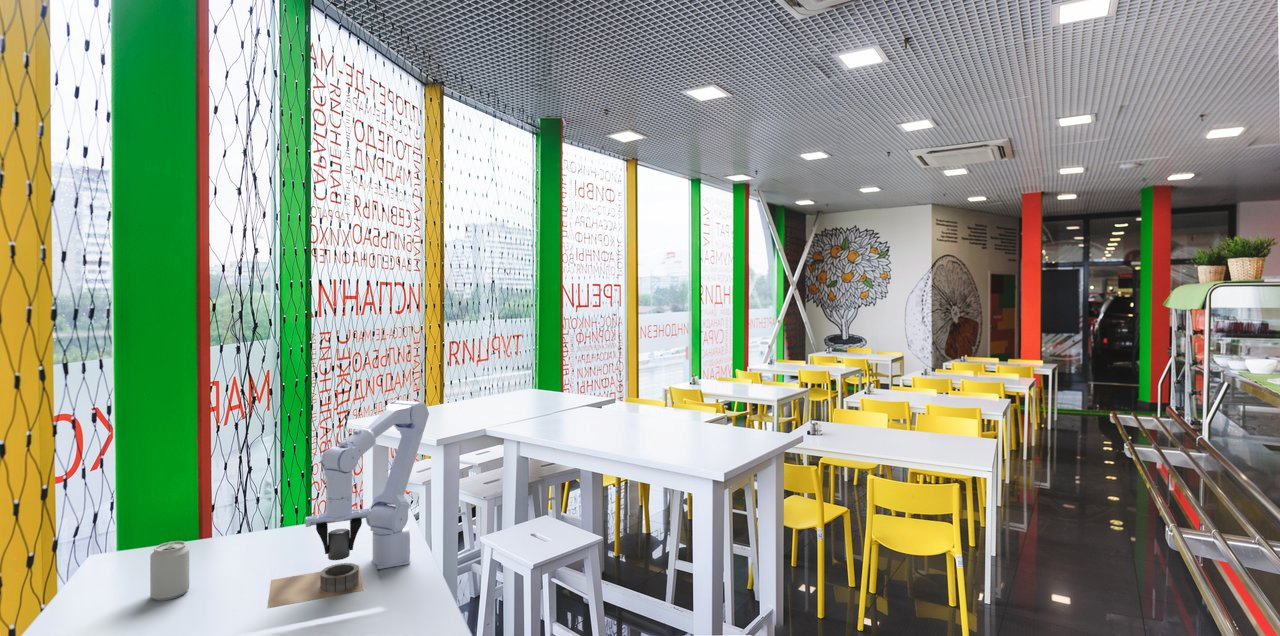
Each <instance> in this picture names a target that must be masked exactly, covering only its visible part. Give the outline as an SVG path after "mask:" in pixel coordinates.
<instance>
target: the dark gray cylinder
mask: <svg viewBox="0 0 1280 636" xmlns="http://www.w3.org/2000/svg"><path fill="white" fill-rule="evenodd" d="M350 554H351V550H350V528H349V529H348V528H337V529H333V530H330V531H328V554H327V559H328V560H330V561H341V560H344V559H347V558H349V557H350Z"/></svg>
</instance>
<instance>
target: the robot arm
mask: <svg viewBox="0 0 1280 636" xmlns="http://www.w3.org/2000/svg"><path fill="white" fill-rule="evenodd" d="M429 416H430V411H429V409H428V407H427V404H426V403H425V402H423V401H411V400H409V401H408V400H401V399H393V400H392V401H391V402H390V403H388V404H387V405H385V409H384V411H383V412H381V414H380V415H379V416H378V417H376V419H375V420H373V422H372V423H370V424H369V425H368V426H367V427H366V428H363V427H362V428H356V429H355V430H353V431H352V432H353V433H352V434H350V436H348V437H347V438H346V439H345V440H342V441H341V442H340V443H339V444H338V445H337V446H332V447H329V448H328V449H326V450H325V451H324V453H323V454H322V457H321V460H320V466H321V468H322V469H323V471H324V473H323V474H324V476H325V478H326V479H325V480H326V483H325V484H326V485H325V487H326V488H325V489H326V491H325V494H326V495H325V497H326V498H325V508H326V509H325V512H323V513H319V514H315V515H309V516H305V528H309V527H311V526H315V530H316V532H317V534H318V535H319V537H320V540H321V542H322V545H323V549H324V555H328V533H329V531H328V524H332V523H333V524H335V523H340V522H346V521H349V530H350V551H353V550H354V545H355V540H356V538H357V535H358V533H359V530H360V529H361V527H362V524H363V519H365V523H366V524H367V526H368V527H370V531H371V532H372V563H373V564H375V568H376V570H383V569H388V568H394V567H400V566H404V565H409V564H411V557H410V556H411V555H410V554H411V535H410V528H409V527H408V526H406V525H407V522H408V520H409V509H410V503H409V501H408V500H407V498H406V497H405V493H406V490H407V487H408V483H409V480H410V477H411V473H412V471H413V468H414V465H415V460H416V458H417V454H418V451H419V448H420V445H421V442H422V438H423V435H424V431H425V429H426V426H427V422H428V418H429ZM393 426H394V428H395V429H396V430H397V431H398V432H399V433H400V435H401V436H400V440H399V444H398V446H397V448H396V449H397V450H396V453H395V456H394V459H393V462H392V465H391V469H390V471H389V474H388V478H387V480H386V484H385V487H384V490H383V492H381V493H380V494H378V495H377V496H375V497H374V498H373V501H372V504H371V505H370V507H369V508H362V509H361V508H360V509H359V508H357V509H356V508H354V509H353V470H355V468H356V467H357V464H358V462H359V460H360V459H361V457H363V455H364V454H365V453H367V451H369V450H370V449H371V448H373V447H374V446H375V444H376V439H377V438H378V437H379V436H381V435H383V434H384V433H385V432H387V431H388V430H390V428H391V427H393Z"/></svg>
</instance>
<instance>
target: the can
mask: <svg viewBox="0 0 1280 636" xmlns="http://www.w3.org/2000/svg"><path fill="white" fill-rule="evenodd" d="M149 557H150V563H149V565H150V566H149V567H150V568H149V569H150V570H149V571H150V576H149V578H150V581H149V582H150V587H149V588H150V592H149V593H150V595H149V596H150V597H151V598H152V599H154V600H156V601H169V600H174V599H176V598H179V597H181V596H183V595H184V594H185V593H186V592H187V591H188V590H189V589H190V547H189V546H187V542H186V541H183V540H175V541H168V542H163V543H160V544H159V545H158V544H157V545H156V546H155V547H153V552H152V553H150V556H149Z"/></svg>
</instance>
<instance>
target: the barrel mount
mask: <svg viewBox="0 0 1280 636" xmlns="http://www.w3.org/2000/svg"><path fill="white" fill-rule="evenodd" d="M361 574H362V573H361V569H360V565H359V564H356V563H352V562H344V563H343V562H342V563H336V564H331V565H329V566H327V567H324V568H323V569H322V570H320V571H317V572H310V573H304V574H298V575H292V576H287V577H279V578H275V579H271V580H270V586H269V594H268V602H267V609H271V608H272V609H273V608H276V607H282V606H288V605H293V604H298V603H305V602H309V601H316V600H320V599H325V598H326V599H327V598H330V597H337V596H341V595H347V594H352V593H358V592H362V591H364V585H363V580H362V576H361Z"/></svg>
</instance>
